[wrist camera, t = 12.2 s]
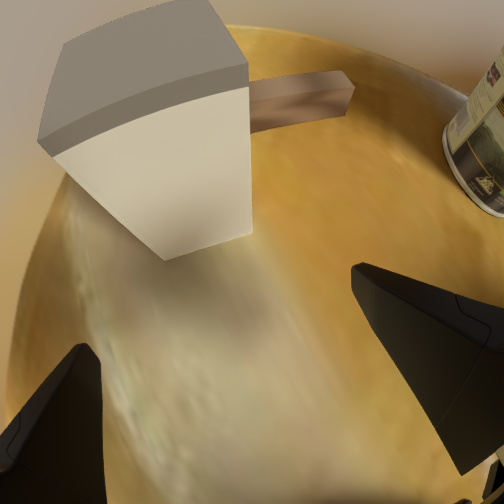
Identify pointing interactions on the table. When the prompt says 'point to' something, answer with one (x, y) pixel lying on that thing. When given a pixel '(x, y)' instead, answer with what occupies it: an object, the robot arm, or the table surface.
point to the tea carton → (157, 125)
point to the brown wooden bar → (298, 99)
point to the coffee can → (480, 141)
